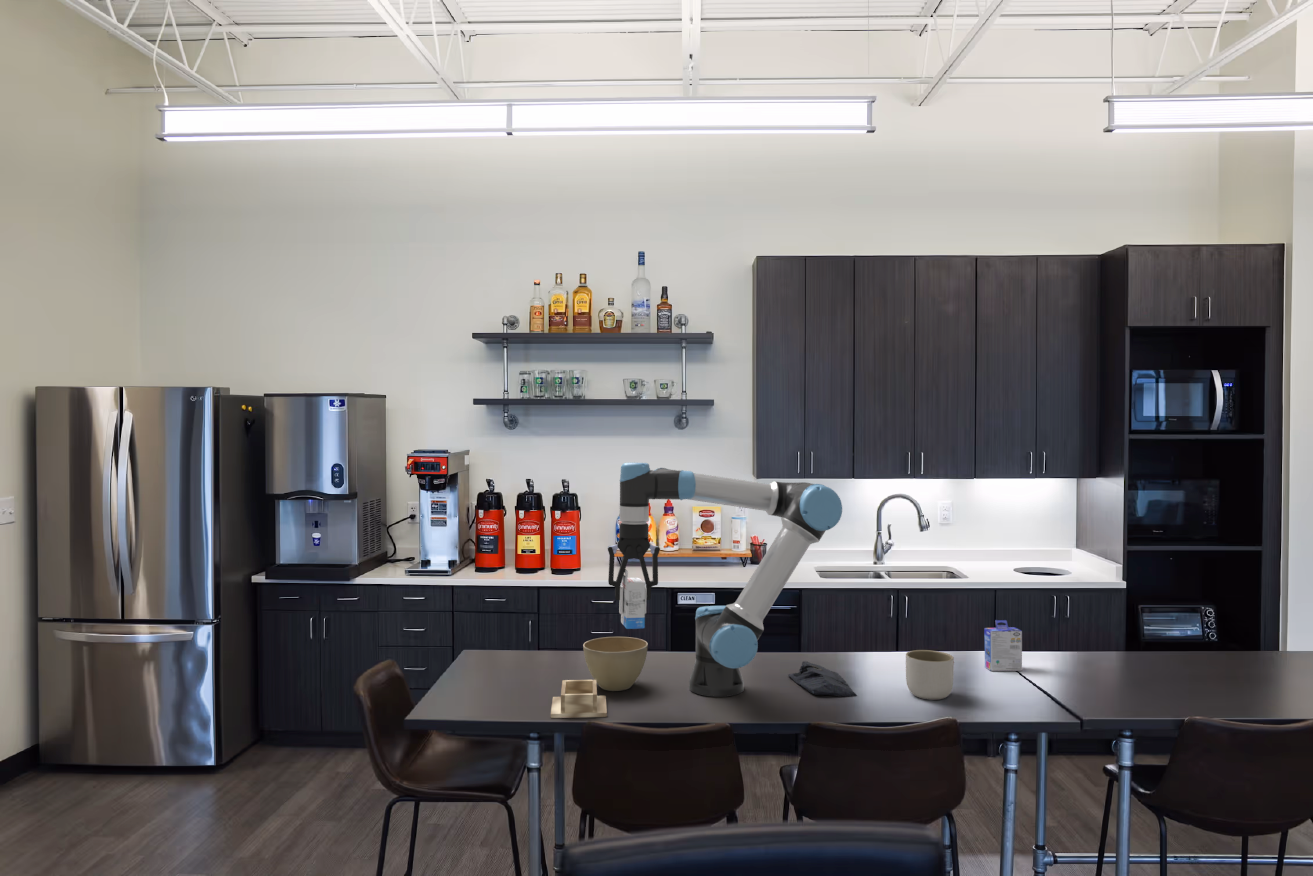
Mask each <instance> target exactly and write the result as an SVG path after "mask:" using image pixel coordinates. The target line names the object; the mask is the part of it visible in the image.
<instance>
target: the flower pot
mask: <svg viewBox="0 0 1313 876" xmlns="http://www.w3.org/2000/svg"><path fill="white" fill-rule="evenodd" d="M582 646H583V647H582V648H583V649H582V650H583V654H584V655H583V656H584V660H585V663H586V666H587V668H588V671H589V673H590V675H591V676H592V678H593V680H596V684H597V685H598V686H599V687H600V688H601V689H602V690H604V691H609V692H621V691H625V690H628V689H630V688H631V687H633V685H634V684H635V682H636V681H637V680H638V678H639V677H640V674H641V672H642V670H643V668H644V666H645V662H646V661H647V659H646V658H647V656H648V655H647V654H648V642H647V641H646V640H644V639H641V638H638V637H629V636H606V637H598V638H593V639H590V640H587V641H585V642H584V643H583V645H582Z"/></svg>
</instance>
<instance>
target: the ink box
mask: <svg viewBox="0 0 1313 876" xmlns="http://www.w3.org/2000/svg"><path fill="white" fill-rule="evenodd" d="M621 586H623V614H620V623H621V624H622V625H623V626H624V628H625V629H626V630H631V629H632V630H637V629H645V628H646V625H645V624H646V623H645V622H646V614H645V586H646V583H645V581H643V580H642V579H641V578H640V577H629V570H627V569H626V568H625V572H624V575H623V578H622V582H621Z"/></svg>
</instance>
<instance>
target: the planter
mask: <svg viewBox="0 0 1313 876" xmlns="http://www.w3.org/2000/svg"><path fill="white" fill-rule="evenodd" d="M954 659H955V657H954V656H953V655H951V654H949V653H946V652H943V651H938V650H929V649H916V650H910V651H907V652H906V653H905V681H906V686H907V688H908V690H909V692H910V693H911V694H912V695H913V696H915V697H917V698H918V699H919V698H920V699H925V700H931V701H933V700H934V701H936V700H937V701H938V700H939V701H940V700H944V699H946V698H947V697H949V695H950V694H951V693H952V690H953V685H954V674H955V673H954V672H955V671H954V669H955V667H954V665H955V660H954Z"/></svg>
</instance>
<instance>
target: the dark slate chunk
mask: <svg viewBox="0 0 1313 876" xmlns="http://www.w3.org/2000/svg"><path fill="white" fill-rule="evenodd" d="M787 675H788V676H787V677H789V678H790V679H792V680H793V681H794V682H795V683H796V684H797V685H798V686H801V687H802V688H803V689H804V690H806V691H807V690H808V691H807V692H809V693H811V694H812V695H815V696H834V697H835V696H837V697H854V696H855V697H856V696H857V693H856V692H854V691H853V689H852V688H851V687H850V685H849V684H848V683H847V681H846V680H845V679H844V677H842V676H841V675H840V674H839V673H838V672H836V671H832V670H830V669H828V668H825V667H823V666H822V665H820V664H817V663H816V664H815V663H813V662H808V661H806V660H805V661H802V662H801V666H800V668H799V670H798V672H795V673H789V674H787Z"/></svg>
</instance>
